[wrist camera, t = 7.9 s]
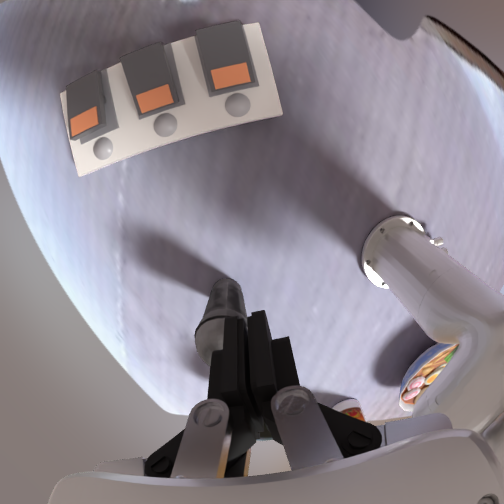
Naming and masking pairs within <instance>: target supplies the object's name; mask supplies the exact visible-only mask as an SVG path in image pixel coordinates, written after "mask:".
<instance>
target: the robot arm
mask: <svg viewBox="0 0 504 504" xmlns="http://www.w3.org/2000/svg"><path fill="white" fill-rule="evenodd" d="M442 244H443V239H442V238H441V237H438V238H434V239H430V238H429V237H428V236H426V234H425V231H424V229H423V227H422V226H421V225H420V224H419V223H418V222H417V221H415V220H414V219H412V218H410V217H408V216H404V215H397V216H392V217H389V218H387V219H385V220H383V221H382V222H380V223H379V224H378V225H377V226H376V227H375V228H374V229H373V230H372V231H371V233H370V234H369V235H368V237H367V239H366V241H365V244H364V247H363V250H362V267H363V270H364V273H365V275H366V276H367V277H368V279H369V280H370V281H371V282H372V283H373V284H375V285H376V286H379V287H382V288H389V289H390V290H391V291H392V292H393V294H394V295H395V296H396V297H397V298H398V300H399V301H400V302H401V303H402V304H403V306H404V307H405V308H406V309H407V311H408V312H409V313H410V314H411V316H412V317H413V318H414V319H415V321H416V322H417V323H418V324H419V326H420V327H421V328H422V330H423V331H424V332H425V333H426V334H427V335H428V337H430V338H431V339H432V340H434V341H436V342H439V343H443V344H459V347H458V349H457V351H456V352H455V353H454V355H453V356H452V358H451V360H450V361H449V362H448V364H447V365H446V366H445V367H444V369H443V370H442V371H441V372H440V373H439V375H438V376H437V377H436V378H435V379H434V381H433V382H432V383H431V384H430V385H429V387H428V388H427V389H426V390H425V391H424V393H423V394H422V395H421V396H420V398H419V399H418V400H417V402H416V404H415V406H414V408H413V412H412V418H408V419H403V420H398V421H391V422H385V425H380V426H374V425H372V424H370V423H368V422H365V421H362V420H359V419H357V418H354V417H352V416H349V415H346V414H344V413H341V412H339V411H336V410H334V409H332V408H329V407H327V406H324V405H322V404H320V403H317V402H316V399H315V397H314V395H313V394H312V392H311V391H310V390H309V389H307V388H305V387H302V386H300V384H299V379H298V375H297V370H296V366H295V361H294V357H293V353H292V348H291V344H290V339H289V336H288V337H284V338H279V339H274V340H272V337H271V333H270V329H269V325H268V321H267V317H266V313H265V310H261V311H257V312H252V316H250V317H247V325H248V330H247V326H246V323H245V320H244V318H240V319H239V316H238V315H237V316H232V317H227V318H225V320H224V336H223V349H222V350H216V351H213V352H212V356H211V366H210V376H209V387H208V398H207V399H206V400H204V401H201V402H199V403H198V404H196V405H195V406H194V407H193V408H192V410H191V412H190V414H189V418H188V421H187V424H186V427H185V429H184V430H183V431H181V432H180V433H179V434H178V435H176V436H175V437H174V438H173V439H171V440H170V441H169V442H167V443H166V444H165V445H163V446H162V447H161V448H159V449H158V450H157V451H155V452H154V453H153V454H152V455H150V456H149V457H148V458H146V459H145V458H143V457H138V458H131V459H122V460H114V461H104V462H100V463H99V464H98V465H96V467H95V468H94V470H93V472H82V473H76V474H72V475H68V476H66V477H64V478H62V479H61V480H59V481H58V483H57V484H56V486H55V487H54V489H53V491H52V493H51V496H50V498H49V501H48V504H504V295H503V294H501V293H500V292H498V291H497V290H495V289H493V288H492V287H491V286H489V285H488V284H487V283H485V282H484V281H483V280H481V279H480V278H479V277H477V276H476V275H475V274H473V273H472V272H471V271H470V270H468V269H467V268H466V267H464V266H463V265H462V264H460V263H459V262H458V261H456V260H455V259H454V258H452V257H451V256H450V255H448V251H447V249H446V248H444V247H443V248H439V247H437V246H440V245H442ZM263 420H264V421H263ZM264 422H265V425H266V427H267V429H268V431H270V433H271V436H272V438H273V440H275V441H277V442H278V443H280V444H282V445H283V446H284V449H285V452H286V455H287V458H288V461H289V464H290V467H291V470H292V471H287V472H280V473H273V474H265V475H257V476H248V471H249V464H250V457H251V446H253V445H254V444H255V443H256V440H257V439H260V432H263V431H264Z"/></svg>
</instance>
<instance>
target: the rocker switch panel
mask: <svg viewBox="0 0 504 504" xmlns="http://www.w3.org/2000/svg"><path fill="white" fill-rule="evenodd" d="M242 29H243V33H244V37H245V41H246V45H247V49H248V53H249V57H250V61H251V65H252V70H253V74H254V78H255V83H249V84H245V85H240V86H235V87H231V88H227V89H222V90H218V91H214V92H212V91H211V88H210V84H209V80H208V76H207V72H206V69H205V65H204V61H203V57H202V53H201V50H200V46H199V42H198V38H197V35H195V36H193V37H189V38H186V39H182V40H179V41H176V42H173V43H168V44H165V45H163V46H164V50H165V53H166V57H167V60H168V63H169V67H170V69H171V73H172V77H173V80H174V84H175V87H176V90H177V94H178V97H179V100H180V101H179V102H178V103H175V104H172V105H169V106H166V107H163V108H160V109H157V110H154V111H151V112H149V113H146V114H143V115H140V116H139V115H138V112H137V109H136V106H135V103H134V100H133V97H132V94H131V91H130V88H129V85H128V82H127V79H126V76H125V73H124V70H123V67H122V64H121V62H120V63H118V64H116V65H113V66H111V67H109V68H107V69H104V70H102V71H100V72H101V76H102V88H103V94H104V96H105V99H106V103H105V104H104V107H105V115H106V123H107V126H105V127H103V128H101V129H98V130H96V131H94V132H92V133H90V134H88V135H86V136H84V137H82V138H80V139H78V140H76V141H74V140H70V137H69V127H68V115H67V99H66V90H65V91H64V92H62V93H60V98H61V103H62V109H63V114H64V119H65V124H66V128H67V133H68V137H69V142H70V146H71V150H72V154H73V157H74V161H75V165H76V168H77V172H78V175H79V177H81V176H84V175H87V174H90V173H92V172H94V171H97V170H99V169H102V168H104V167H106V166H109V165H111V164H114V163H117V162H119V161H122V160H124V159H127V158H130V157H132V156H135V155H138V154H141V153H143V152H146V151H149V150H152V149H155V148H158V147H161V146H164V145H167V144H170V143H174V142H177V141H180V140H183V139H187V138H190V137H194V136H197V135H201V134H204V133H208V132H212V131H216V130H220V129H224V128H228V127H232V126H236V125H240V124H245V123H249V122H254V121H259V120H264V119H269V118H274V117H279V116H281V115H283V112H282V108H281V104H280V100H279V96H278V92H277V88H276V84H275V80H274V76H273V72H272V68H271V64H270V61H269V57H268V53H267V50H266V46H265V42H264V39H263V36H262V32H261V29H260V25H259V22H258V23H252V24H246V25H242Z"/></svg>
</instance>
